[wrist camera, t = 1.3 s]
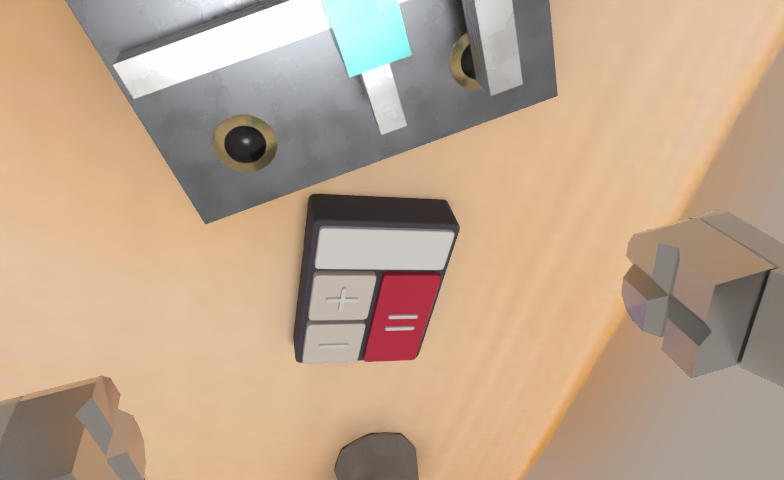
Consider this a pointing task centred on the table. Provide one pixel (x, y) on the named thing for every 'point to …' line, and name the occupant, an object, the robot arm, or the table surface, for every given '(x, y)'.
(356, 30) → the slider
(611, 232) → the table surface
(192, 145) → the hole plate
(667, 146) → the table surface
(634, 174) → the table surface
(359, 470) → the coffeepot
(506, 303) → the table surface
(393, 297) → the calculator
